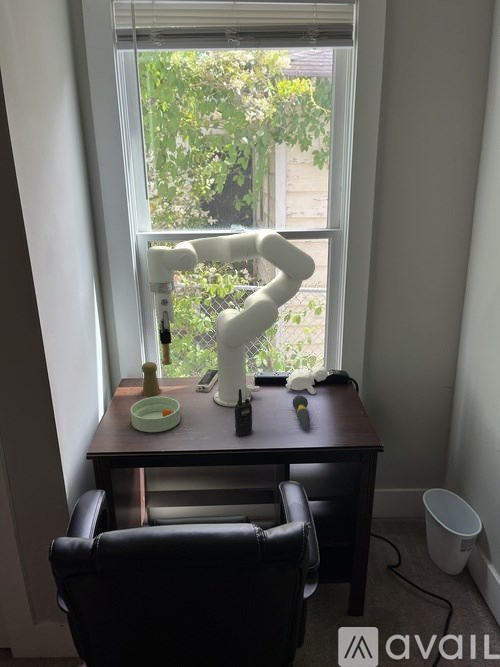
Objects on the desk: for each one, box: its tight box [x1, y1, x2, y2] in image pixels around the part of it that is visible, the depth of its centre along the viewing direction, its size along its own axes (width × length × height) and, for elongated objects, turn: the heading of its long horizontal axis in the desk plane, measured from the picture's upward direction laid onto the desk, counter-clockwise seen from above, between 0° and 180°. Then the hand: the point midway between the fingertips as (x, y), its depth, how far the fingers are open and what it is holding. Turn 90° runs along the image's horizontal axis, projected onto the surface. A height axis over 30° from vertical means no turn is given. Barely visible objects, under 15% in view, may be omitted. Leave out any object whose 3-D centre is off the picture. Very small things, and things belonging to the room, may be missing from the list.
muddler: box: [161, 325, 173, 366], centre depth 166 cm, size 3×3×13 cm
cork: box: [141, 361, 161, 397], centre depth 180 cm, size 6×6×11 cm
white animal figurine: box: [285, 365, 328, 395], centre depth 182 cm, size 9×8×15 cm
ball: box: [162, 409, 172, 417], centre depth 162 cm, size 3×3×3 cm
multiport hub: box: [196, 369, 218, 393], centre depth 188 cm, size 4×14×2 cm, turn 167°
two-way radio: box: [234, 389, 253, 437], centre depth 152 cm, size 6×4×15 cm
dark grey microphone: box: [292, 394, 311, 431], centre depth 162 cm, size 20×5×5 cm, turn 7°
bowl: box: [129, 396, 182, 433], centre depth 161 cm, size 15×15×5 cm
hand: (165, 341), depth 166 cm, fingers closed on muddler, 2 cm apart
